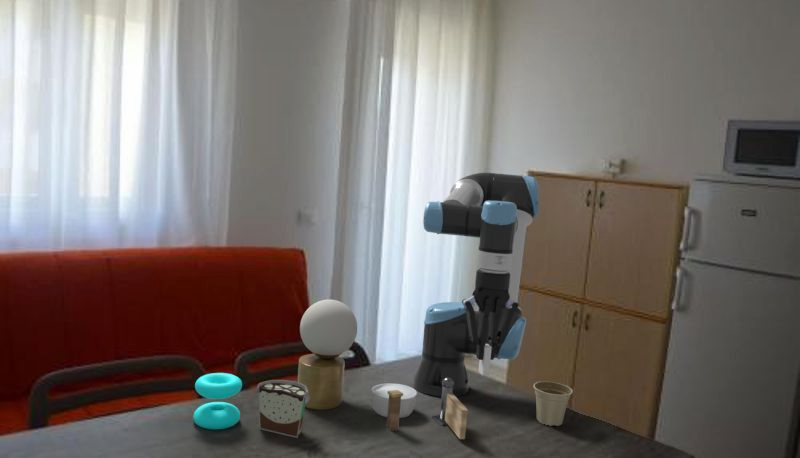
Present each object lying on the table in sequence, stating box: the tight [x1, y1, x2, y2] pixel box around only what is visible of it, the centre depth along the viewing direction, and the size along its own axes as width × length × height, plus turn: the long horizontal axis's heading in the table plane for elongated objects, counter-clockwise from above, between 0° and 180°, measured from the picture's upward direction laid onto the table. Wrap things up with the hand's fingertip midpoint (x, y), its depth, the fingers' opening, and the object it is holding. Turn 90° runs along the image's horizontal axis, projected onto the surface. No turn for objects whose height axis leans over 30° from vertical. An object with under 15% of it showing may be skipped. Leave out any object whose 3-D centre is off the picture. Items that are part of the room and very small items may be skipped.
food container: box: [255, 379, 309, 439], centre depth 146 cm, size 12×6×10 cm, turn 71°
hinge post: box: [431, 377, 454, 426], centre depth 158 cm, size 4×4×11 cm
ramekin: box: [371, 383, 418, 419], centre depth 162 cm, size 11×11×5 cm
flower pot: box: [532, 380, 574, 427], centre depth 163 cm, size 9×9×9 cm
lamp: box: [297, 299, 358, 410], centre depth 165 cm, size 15×14×25 cm
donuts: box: [193, 372, 243, 430], centre depth 147 cm, size 10×10×10 cm
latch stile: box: [385, 390, 403, 432], centre depth 151 cm, size 3×3×9 cm
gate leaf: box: [445, 393, 469, 440], centre depth 152 cm, size 10×1×7 cm, turn 15°
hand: (483, 373), depth 150 cm, fingers closed
